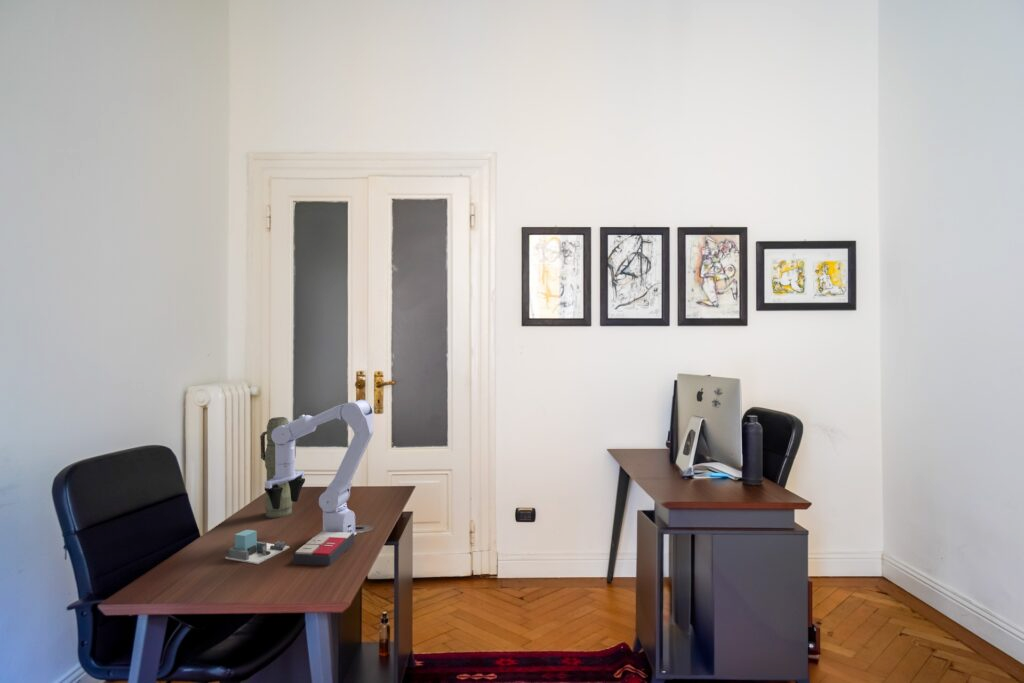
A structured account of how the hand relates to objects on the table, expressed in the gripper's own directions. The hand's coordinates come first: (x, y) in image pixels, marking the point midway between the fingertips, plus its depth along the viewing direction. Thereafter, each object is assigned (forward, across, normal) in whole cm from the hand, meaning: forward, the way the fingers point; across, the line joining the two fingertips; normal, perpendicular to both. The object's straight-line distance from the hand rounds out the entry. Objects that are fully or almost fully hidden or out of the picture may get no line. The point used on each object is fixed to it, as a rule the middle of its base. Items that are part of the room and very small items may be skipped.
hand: (285, 504), depth 156 cm
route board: (+10, +13, +2) cm, 17 cm away
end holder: (+10, +15, 0) cm, 18 cm away
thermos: (+10, -16, -19) cm, 27 cm away
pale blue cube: (+10, +15, 0) cm, 18 cm away
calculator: (+10, +7, +22) cm, 25 cm away
